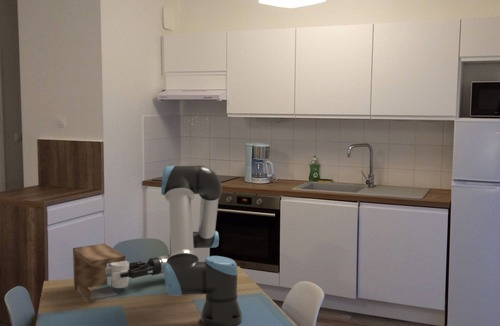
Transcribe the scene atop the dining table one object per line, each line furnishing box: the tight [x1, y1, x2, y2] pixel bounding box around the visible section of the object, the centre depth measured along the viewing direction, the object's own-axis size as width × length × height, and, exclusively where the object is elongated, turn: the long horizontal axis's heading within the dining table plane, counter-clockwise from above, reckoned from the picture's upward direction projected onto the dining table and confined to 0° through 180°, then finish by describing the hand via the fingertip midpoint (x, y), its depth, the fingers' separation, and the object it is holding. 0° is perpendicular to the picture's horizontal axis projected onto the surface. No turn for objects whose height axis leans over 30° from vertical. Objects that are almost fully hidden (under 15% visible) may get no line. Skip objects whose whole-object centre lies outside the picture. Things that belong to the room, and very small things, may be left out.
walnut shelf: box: [72, 243, 126, 304], centre depth 232 cm, size 14×24×18 cm, turn 34°
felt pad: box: [89, 286, 119, 301], centre depth 232 cm, size 11×11×1 cm
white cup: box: [109, 260, 130, 289], centre depth 237 cm, size 8×8×10 cm
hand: (108, 273), depth 234 cm, fingers closed on white cup, 8 cm apart
